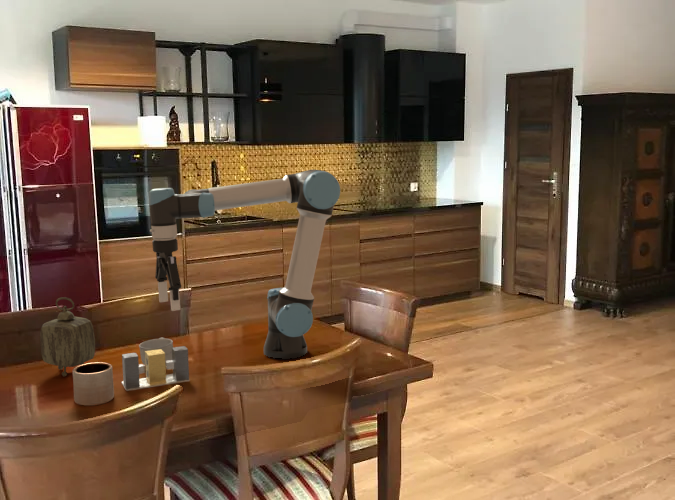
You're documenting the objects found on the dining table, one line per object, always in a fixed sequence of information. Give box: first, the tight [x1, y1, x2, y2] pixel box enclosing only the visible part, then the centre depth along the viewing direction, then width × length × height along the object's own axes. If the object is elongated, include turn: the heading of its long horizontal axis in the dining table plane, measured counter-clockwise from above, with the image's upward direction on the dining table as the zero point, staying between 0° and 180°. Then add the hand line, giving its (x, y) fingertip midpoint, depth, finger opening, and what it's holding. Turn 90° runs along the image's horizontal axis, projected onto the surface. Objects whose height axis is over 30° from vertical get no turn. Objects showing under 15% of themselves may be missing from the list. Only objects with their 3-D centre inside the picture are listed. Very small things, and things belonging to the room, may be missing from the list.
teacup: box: [138, 337, 174, 366], centre depth 234 cm, size 14×11×8 cm
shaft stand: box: [121, 345, 191, 392], centre depth 216 cm, size 19×8×10 cm, turn 117°
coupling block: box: [145, 349, 167, 384], centre depth 217 cm, size 5×5×9 cm
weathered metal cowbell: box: [39, 296, 96, 377], centre depth 223 cm, size 14×9×25 cm, turn 71°
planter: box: [72, 361, 115, 407], centre depth 202 cm, size 11×11×10 cm
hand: (169, 306), depth 221 cm, fingers open, 13 cm apart
